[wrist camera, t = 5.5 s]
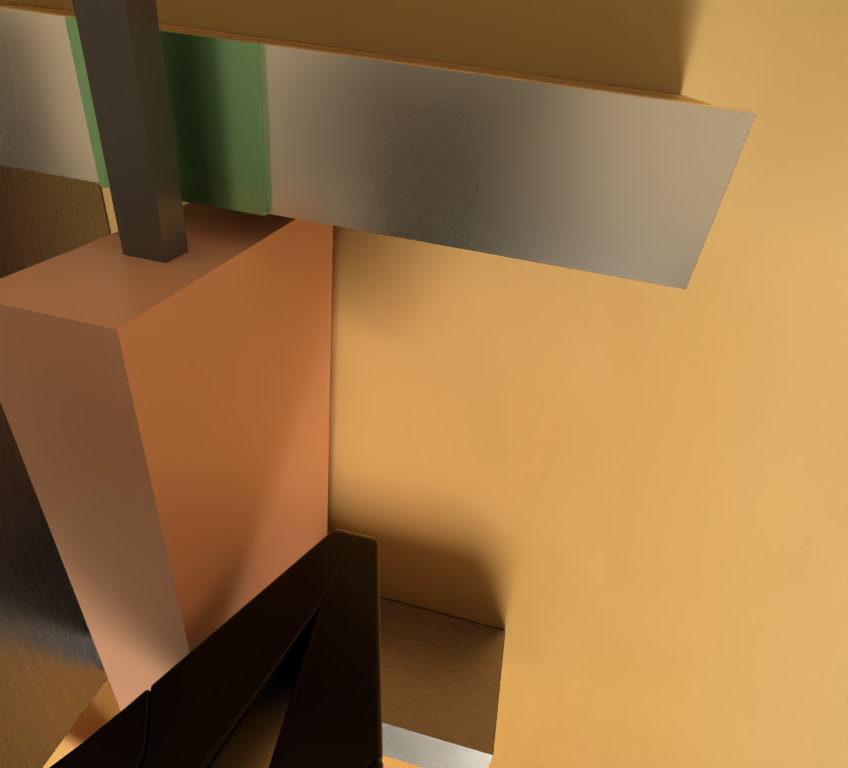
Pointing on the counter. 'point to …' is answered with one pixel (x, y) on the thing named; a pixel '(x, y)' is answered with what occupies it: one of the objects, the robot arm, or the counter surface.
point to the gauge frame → (351, 208)
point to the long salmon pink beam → (168, 382)
